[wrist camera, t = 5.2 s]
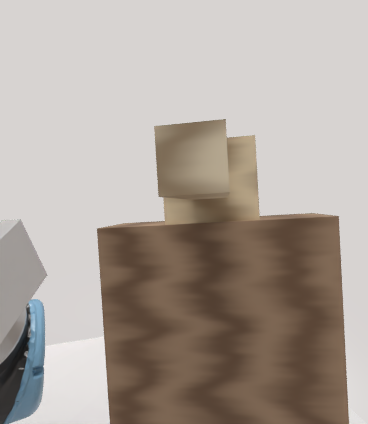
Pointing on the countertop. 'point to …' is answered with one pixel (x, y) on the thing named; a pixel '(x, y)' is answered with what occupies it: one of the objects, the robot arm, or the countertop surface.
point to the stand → (224, 321)
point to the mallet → (206, 173)
